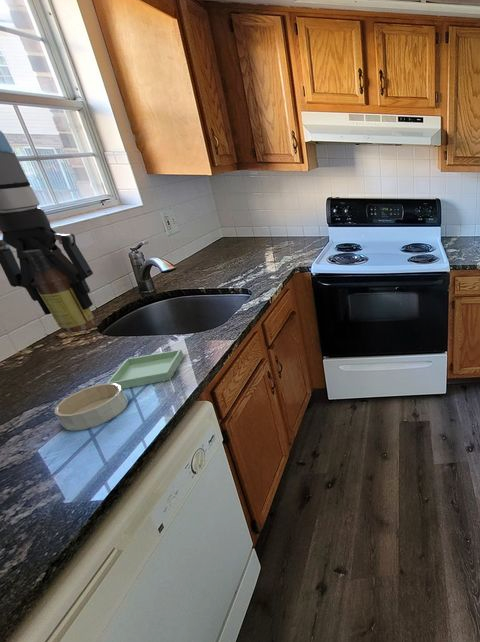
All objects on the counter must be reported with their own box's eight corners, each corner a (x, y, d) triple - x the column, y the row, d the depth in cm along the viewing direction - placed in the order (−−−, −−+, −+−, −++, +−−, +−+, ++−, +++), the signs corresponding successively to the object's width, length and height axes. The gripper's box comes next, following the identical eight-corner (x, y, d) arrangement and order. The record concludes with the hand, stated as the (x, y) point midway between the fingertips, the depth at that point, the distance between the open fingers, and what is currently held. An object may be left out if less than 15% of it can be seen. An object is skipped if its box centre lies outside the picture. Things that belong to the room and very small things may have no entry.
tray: (109, 391, 99) (105, 384, 98) (129, 365, 110) (126, 358, 109) (170, 379, 103) (167, 372, 102) (183, 355, 114) (181, 349, 113)
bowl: (51, 436, 84) (41, 421, 82) (80, 403, 95) (72, 389, 93) (115, 422, 88) (107, 408, 86) (136, 392, 98) (129, 378, 96)
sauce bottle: (84, 320, 91) (44, 243, 82) (104, 323, 89) (65, 244, 81) (53, 333, 85) (7, 251, 76) (74, 336, 84) (29, 252, 75)
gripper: (82, 202, 81) (126, 296, 91) (-31, 210, 76) (28, 309, 86) (62, 208, 75) (111, 309, 84) (-63, 217, 69) (5, 323, 79)
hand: (69, 309), depth 85 cm, fingers closed on sauce bottle, 6 cm apart
